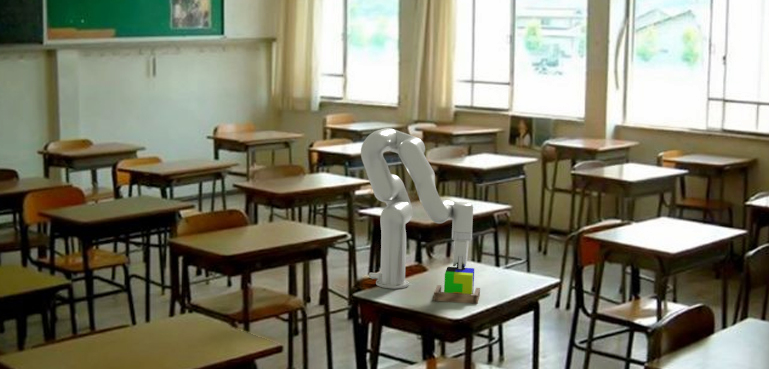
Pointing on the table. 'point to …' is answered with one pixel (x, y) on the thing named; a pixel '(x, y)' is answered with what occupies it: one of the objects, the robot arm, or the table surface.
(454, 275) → the puzzle toy
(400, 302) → the table surface
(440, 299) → the base frame
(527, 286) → the table surface
